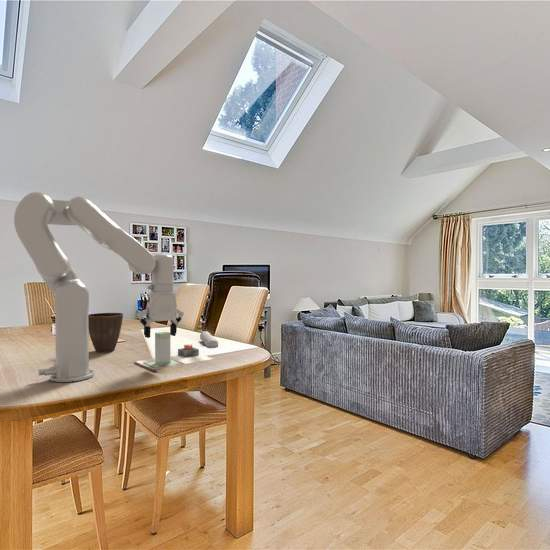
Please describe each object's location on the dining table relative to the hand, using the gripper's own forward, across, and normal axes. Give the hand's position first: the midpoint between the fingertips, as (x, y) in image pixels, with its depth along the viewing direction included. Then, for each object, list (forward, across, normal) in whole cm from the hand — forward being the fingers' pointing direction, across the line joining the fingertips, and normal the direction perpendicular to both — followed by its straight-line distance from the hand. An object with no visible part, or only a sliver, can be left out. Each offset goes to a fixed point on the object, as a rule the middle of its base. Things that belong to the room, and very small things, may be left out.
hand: (160, 336), depth 140 cm
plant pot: (+12, -5, +43) cm, 45 cm away
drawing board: (+11, +7, +2) cm, 13 cm away
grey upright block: (+10, +1, 0) cm, 10 cm away
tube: (+10, +36, +25) cm, 45 cm away
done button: (+8, +15, +7) cm, 18 cm away
